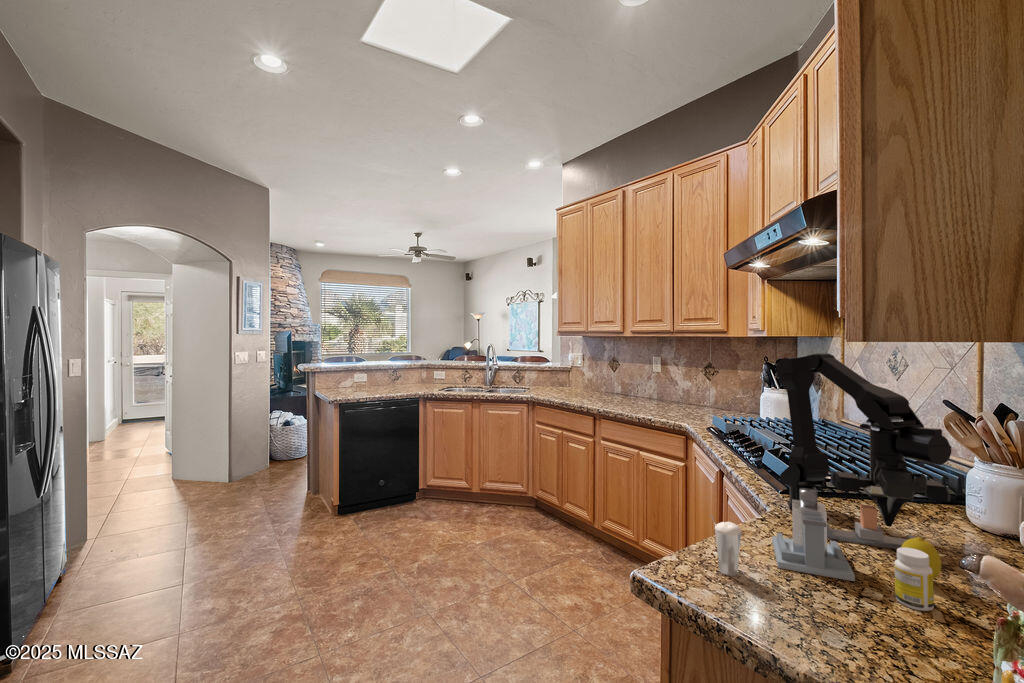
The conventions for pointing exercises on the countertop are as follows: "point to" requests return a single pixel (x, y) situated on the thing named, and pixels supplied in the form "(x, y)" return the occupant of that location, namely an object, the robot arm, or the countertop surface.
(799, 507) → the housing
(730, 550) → the milkshake
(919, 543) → the lemon
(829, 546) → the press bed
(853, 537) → the rail
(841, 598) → the countertop surface
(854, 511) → the countertop surface
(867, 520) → the lever
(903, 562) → the supplement bottle
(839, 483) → the robot arm
